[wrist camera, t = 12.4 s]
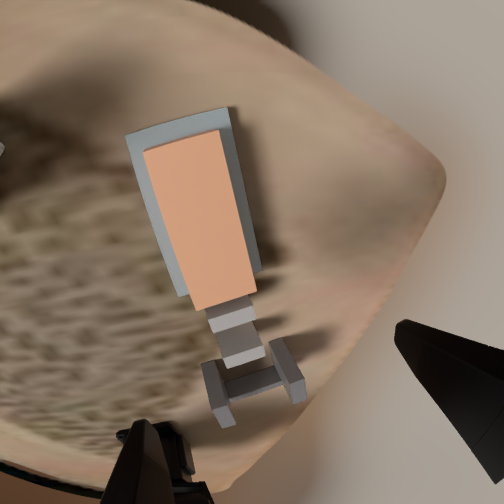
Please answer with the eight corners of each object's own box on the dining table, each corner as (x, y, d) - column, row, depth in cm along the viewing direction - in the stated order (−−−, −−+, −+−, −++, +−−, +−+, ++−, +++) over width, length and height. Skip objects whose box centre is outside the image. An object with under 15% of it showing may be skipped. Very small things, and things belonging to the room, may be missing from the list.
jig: (213, 389, 26) (225, 432, 22) (174, 303, 21) (179, 350, 17) (287, 365, 27) (307, 404, 23) (269, 273, 22) (295, 312, 18)
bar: (192, 294, 20) (196, 311, 19) (145, 148, 16) (142, 152, 14) (248, 276, 21) (257, 291, 19) (212, 129, 16) (218, 130, 15)
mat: (177, 290, 21) (178, 297, 20) (126, 135, 16) (124, 135, 15) (258, 265, 22) (262, 270, 21) (224, 107, 17) (227, 107, 16)
